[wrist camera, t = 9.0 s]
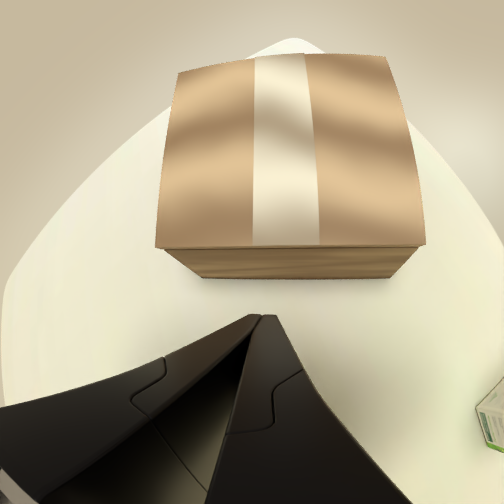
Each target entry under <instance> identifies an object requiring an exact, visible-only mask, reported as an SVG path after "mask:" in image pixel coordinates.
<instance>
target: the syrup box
mask: <svg viewBox="0 0 504 504" xmlns="http://www.w3.org/2000/svg"><path fill="white" fill-rule="evenodd" d="M476 411H477V413H478V416H479V419H480V423H481V426H482V429H483V432H484V435H485V439H486V442H487V445H488V447H489V448H492V449H495V450H497V451H500V452H502V453H504V378H503V379H502V380H501V381H500V382H499V384H498V385H497V386H496V387H495V388H494V389H493V390H492V391H491V392H490V393H489V394H488V395H487V397H486V398H485V399H484V400H483V401H482V402H481V403H480V404H479V405H478V406H477V407H476Z"/></svg>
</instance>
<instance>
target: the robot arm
mask: <svg viewBox="0 0 504 504" xmlns="http://www.w3.org/2000/svg"><path fill="white" fill-rule="evenodd" d="M0 504H413V503H412V502H411V501H410V500H409V499H408V498H407V497H406V496H405V495H404V494H403V493H402V492H401V490H400V489H399V488H398V487H397V486H396V485H395V484H394V483H393V482H392V480H391V479H390V478H389V477H388V476H387V475H386V474H385V473H384V471H383V470H382V469H381V468H380V467H379V466H378V465H377V463H376V462H375V461H374V460H373V459H372V458H371V457H370V455H369V454H368V453H367V452H366V451H365V450H364V448H363V447H362V446H361V445H360V444H359V443H358V441H357V440H356V439H355V438H354V437H353V435H352V434H351V433H350V432H349V431H348V429H347V428H346V427H345V426H344V425H343V423H342V422H341V421H340V420H339V419H338V417H337V416H336V415H335V414H334V413H333V411H332V410H331V409H330V408H329V406H328V405H327V404H326V402H325V401H324V400H323V398H322V397H321V396H320V394H319V393H318V391H317V390H316V388H315V386H314V385H313V383H312V381H311V380H310V378H309V376H308V374H307V372H306V371H305V369H304V367H303V365H302V363H301V362H300V360H299V358H298V356H297V354H296V352H295V350H294V348H293V346H292V344H291V342H290V340H289V339H288V337H287V335H286V333H285V331H284V329H283V327H282V325H281V323H280V321H279V319H278V317H277V316H276V315H263V316H262V315H260V314H248V315H247V316H245V317H243V318H241V319H239V320H237V321H235V322H233V323H231V324H229V325H227V326H225V327H223V328H221V329H219V330H217V331H215V332H213V333H211V334H209V335H207V336H205V337H203V338H201V339H199V340H197V341H195V342H193V343H191V344H189V345H187V346H185V347H183V348H181V349H179V350H177V351H174V352H172V353H170V354H168V355H166V356H165V358H164V357H160V358H158V359H156V360H154V361H152V362H150V363H147V364H145V365H142V366H140V367H138V368H135V369H133V370H130V371H127V372H124V373H122V374H119V375H116V376H113V377H110V378H107V379H104V380H101V381H98V382H95V383H91V384H88V385H85V386H82V387H78V388H75V389H72V390H68V391H65V392H61V393H58V394H54V395H50V396H47V397H43V398H39V399H35V400H31V401H27V402H23V403H19V404H15V405H10V406H6V407H1V408H0Z"/></svg>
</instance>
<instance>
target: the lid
mask: <svg viewBox="0 0 504 504" xmlns="http://www.w3.org/2000/svg"><path fill="white" fill-rule="evenodd" d="M423 245H426V237H425V225H424V214H423V205H422V197H421V190H420V184H419V177H418V171H417V166H416V161H415V156H414V151H413V146H412V142H411V137H410V133H409V129H408V125H407V121H406V117H405V114H404V110H403V107H402V103H401V100H400V97H399V94H398V91H397V87H396V84H395V82H394V79H393V76H392V73H391V70H390V67H389V65H388V62H387V60H386V57H382V56H371V55H356V54H355V55H354V54H304V53H296V54H281V55H270V56H261V57H255V58H253V59H246V60H239V61H233V62H227V63H221V64H216V65H211V66H206V67H202V68H198V69H193V70H189V71H185V72H181V73H179V74H178V79H177V83H176V88H175V92H174V98H173V103H172V107H171V113H170V118H169V124H168V130H167V136H166V143H165V150H164V157H163V164H162V172H161V181H160V190H159V200H158V212H157V224H156V240H155V248H159V249H223V248H309V247H420V246H423Z"/></svg>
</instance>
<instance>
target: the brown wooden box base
mask: <svg viewBox="0 0 504 504" xmlns="http://www.w3.org/2000/svg"><path fill="white" fill-rule="evenodd" d="M417 249H418V247H309V248H223V249H165V250H164V251H166V252H167V253H168V254H170V255H171V256H173V257H174V258H175V259H177V260H178V261H179V262H181V263H182V264H183V265H185V266H186V267H188V268H189V269H190V270H192V271H193V272H195V273H196V274H197V275H199V276H200V277H202V278H215V279H379V278H390V277H391V276H392V275H393V274H394V273H395V272H396V271H397V270H398V269H399V268H400V267H401V266H402V265H403V264H404V263H405V262H406V261H407V260H408V259H409V258H410V257H411V256H412V254H413V253H414V252H415V251H416V250H417Z"/></svg>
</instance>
